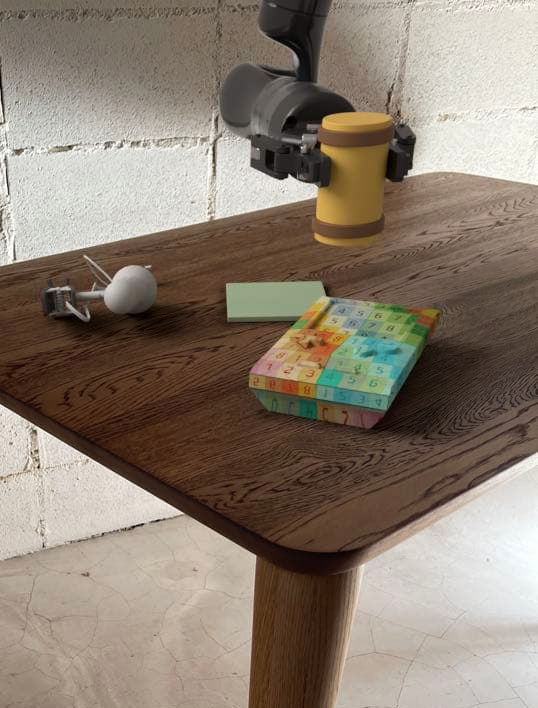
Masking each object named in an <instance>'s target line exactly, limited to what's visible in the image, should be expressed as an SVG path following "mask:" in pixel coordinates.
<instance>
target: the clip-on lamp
mask: <svg viewBox="0 0 538 708" xmlns="http://www.w3.org/2000/svg"><path fill="white" fill-rule="evenodd" d="M83 259H84V260H85V263H86V264H87V265H88V267H89V269H90V270H91V271H92V273H93V274H94V275H95V277H96V278H97V279H98V280H99V281H100V282H101V283H102V284H103V285H105V286H107V287H102V286H100V285H98V284H97V282H94V283H93V286H92V289H91V291H83V292H82V291H81V292H76V288H75V287H74V286H72V284H71V281H70V279H71V278H70V276H69V275H66V276H65V285H66V286H62V287H61V286H57V287H54V286H53V279H52V277H48V278H46V281H47V286H46V288H44V289H43V290H40V300H41V307H42V315H43V317H44V318H46V317H49V316H51V318H52V319H56V318H57V315H64V314H69V316H70V317H74V316H76V317H78V318H79V319H80V320H82V321H83V322H85V323H88V322H90V320H91V315H90V311H89V309H88V307H89V305H90V303H91V302H92V301H104V304H105V306H106V307H107V309H109V311H111V312H112V313H114V314H116V315H125V314H133V315H136V314H141V313H144V312H146V311H147V310H148V309H150V308H151V307H152V306H153V304H154V303H155V301H156V298H157V295H158V283H157V281H156V278H155V277H154V275H153V273H152V272H151V271H150V269H153V265H152V264H150V265H145V266H144V265H134V264H131V265H128V266H124V267H123V268H121V269H119V270H118V271H117V272H116V273H115V275H114V276H113V277H111V276H109V274H108V273H107V272H105V270H103V269H102V267H100V266H99V265H98V264H97V263H96V262H94V261H93V260H92V259H91V258H89V256H87V255H86V254H84V255H83ZM92 265H93V266H94V267H95V268H96V269H97V270H98V271H100V272H101V274H103V275H104V276H105V278H107V279H108V280H109V281H110V283H107V282H105V281H104V280H103V279H102V278H101V277H100V276H99V274H98V273H97V271H95V269H94V268H93V267H92ZM148 269H149V270H148ZM64 291H66V292H67V293H66V295H67V300H66V301H65V299H64V298H65V296H64V295H65V293H64ZM79 302H86V303H85V304H83V305H82V306H81V308H80V311H79V310H78V304H77V303H79ZM65 307H66V309H65ZM82 313H85V315H86V316H85V315H84V314H82Z"/></svg>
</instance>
